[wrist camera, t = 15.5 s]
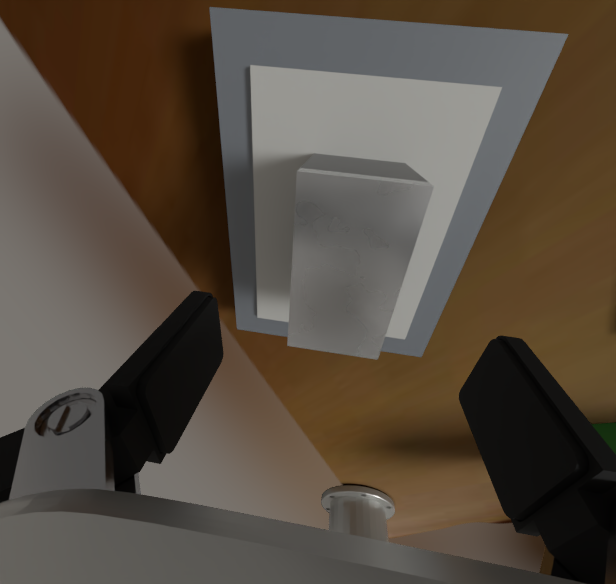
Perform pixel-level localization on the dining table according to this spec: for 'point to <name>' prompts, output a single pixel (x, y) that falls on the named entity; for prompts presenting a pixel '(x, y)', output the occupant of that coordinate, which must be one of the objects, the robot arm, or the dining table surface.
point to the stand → (367, 138)
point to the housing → (351, 250)
